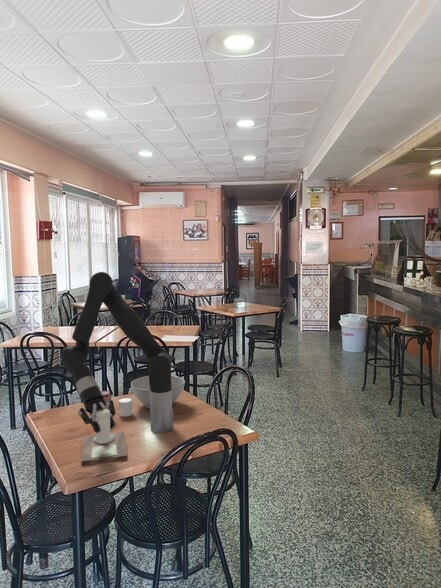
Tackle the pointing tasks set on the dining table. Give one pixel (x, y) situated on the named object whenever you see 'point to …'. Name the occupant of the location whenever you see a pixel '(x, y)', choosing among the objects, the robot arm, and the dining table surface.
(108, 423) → the salt shaker
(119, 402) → the white tapered cup
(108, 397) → the soda can
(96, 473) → the dining table surface
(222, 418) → the dining table surface
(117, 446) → the post board
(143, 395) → the decorative bowl
